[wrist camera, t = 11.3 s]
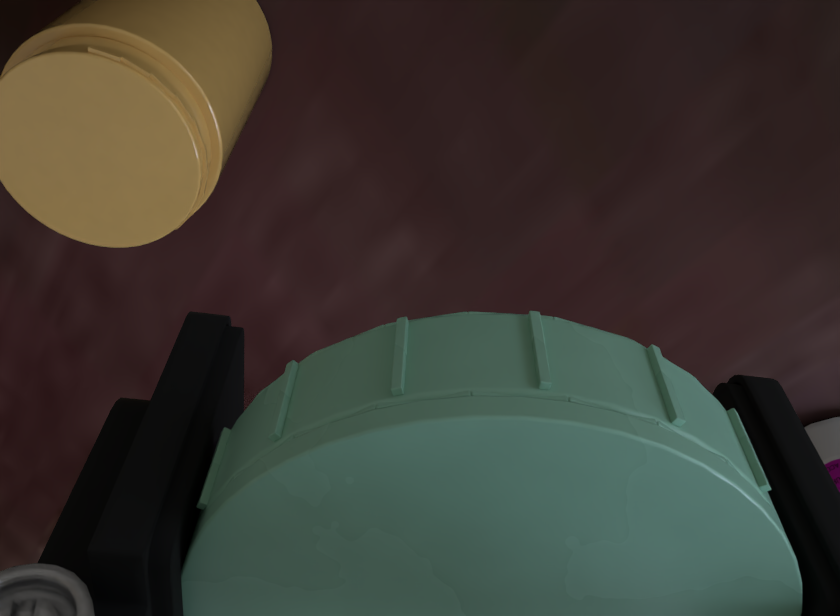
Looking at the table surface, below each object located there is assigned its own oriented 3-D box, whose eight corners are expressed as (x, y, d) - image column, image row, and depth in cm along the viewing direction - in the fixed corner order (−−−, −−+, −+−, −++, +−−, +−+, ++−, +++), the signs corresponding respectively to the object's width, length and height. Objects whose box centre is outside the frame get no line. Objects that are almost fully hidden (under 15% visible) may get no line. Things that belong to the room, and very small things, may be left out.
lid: (272, 228, 8) (234, 328, 6) (877, 404, 9) (955, 519, 7) (176, 616, 11) (141, 728, 10) (605, 704, 12) (623, 816, 11)
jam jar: (254, 140, 32) (193, 281, 24) (96, 93, 31) (-28, 222, 23) (288, -15, 28) (229, 85, 20) (110, -75, 27) (-31, 4, 19)
